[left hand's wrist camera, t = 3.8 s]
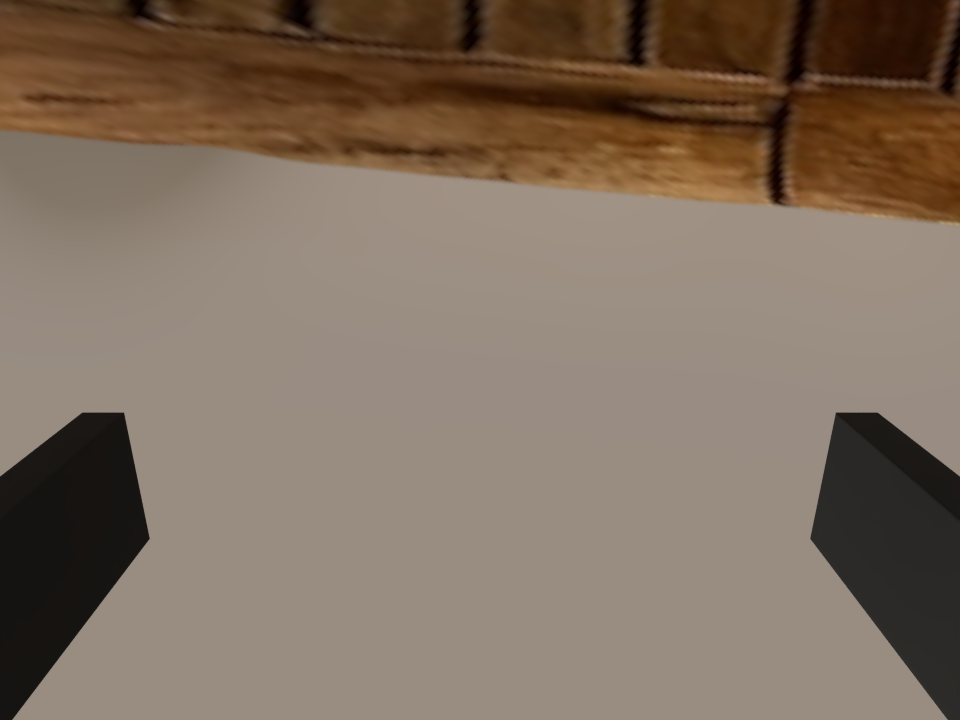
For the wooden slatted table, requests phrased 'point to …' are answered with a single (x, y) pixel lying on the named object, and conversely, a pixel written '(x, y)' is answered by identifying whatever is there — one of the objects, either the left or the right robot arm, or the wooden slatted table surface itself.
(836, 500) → the left robot arm
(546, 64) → the wooden slatted table surface
